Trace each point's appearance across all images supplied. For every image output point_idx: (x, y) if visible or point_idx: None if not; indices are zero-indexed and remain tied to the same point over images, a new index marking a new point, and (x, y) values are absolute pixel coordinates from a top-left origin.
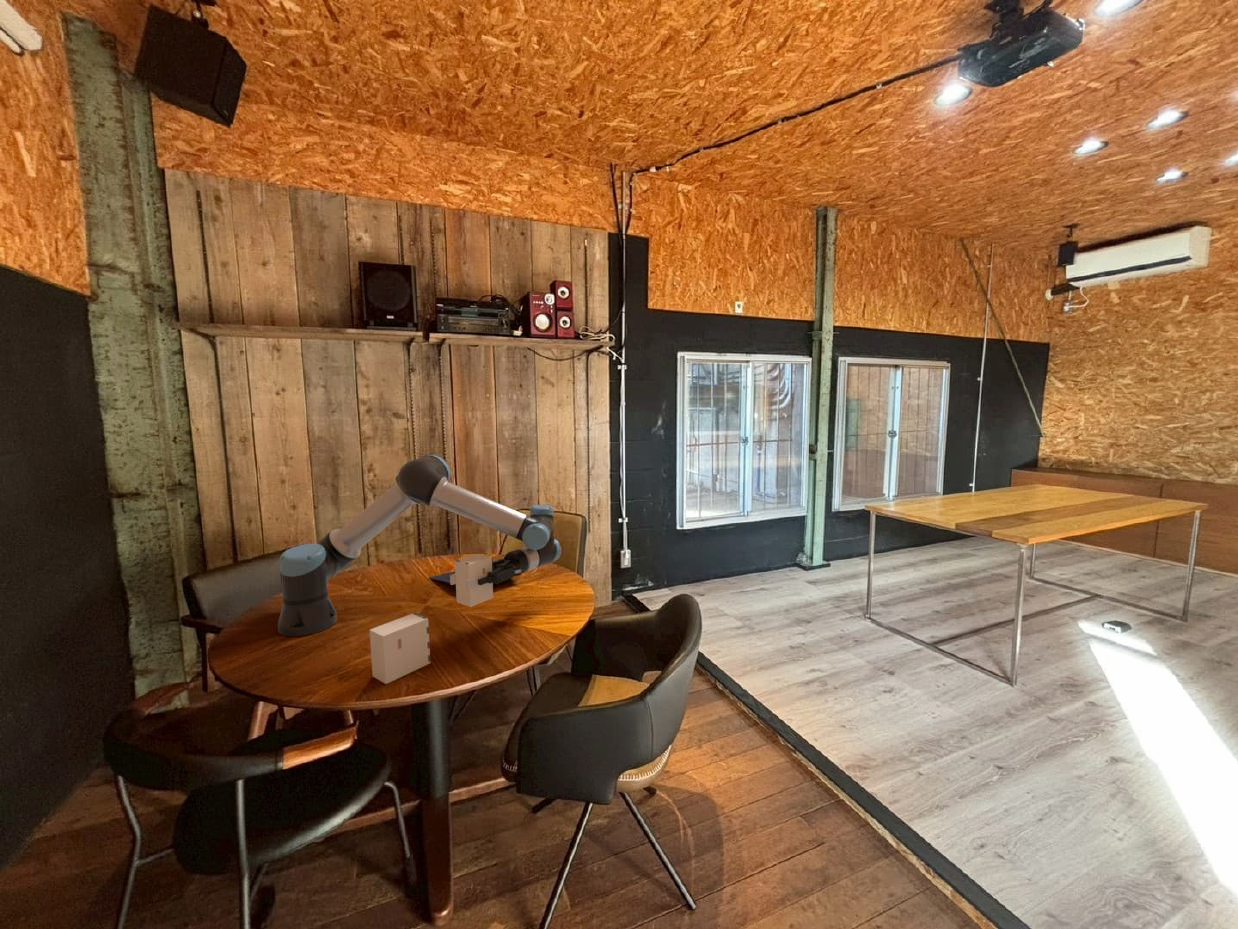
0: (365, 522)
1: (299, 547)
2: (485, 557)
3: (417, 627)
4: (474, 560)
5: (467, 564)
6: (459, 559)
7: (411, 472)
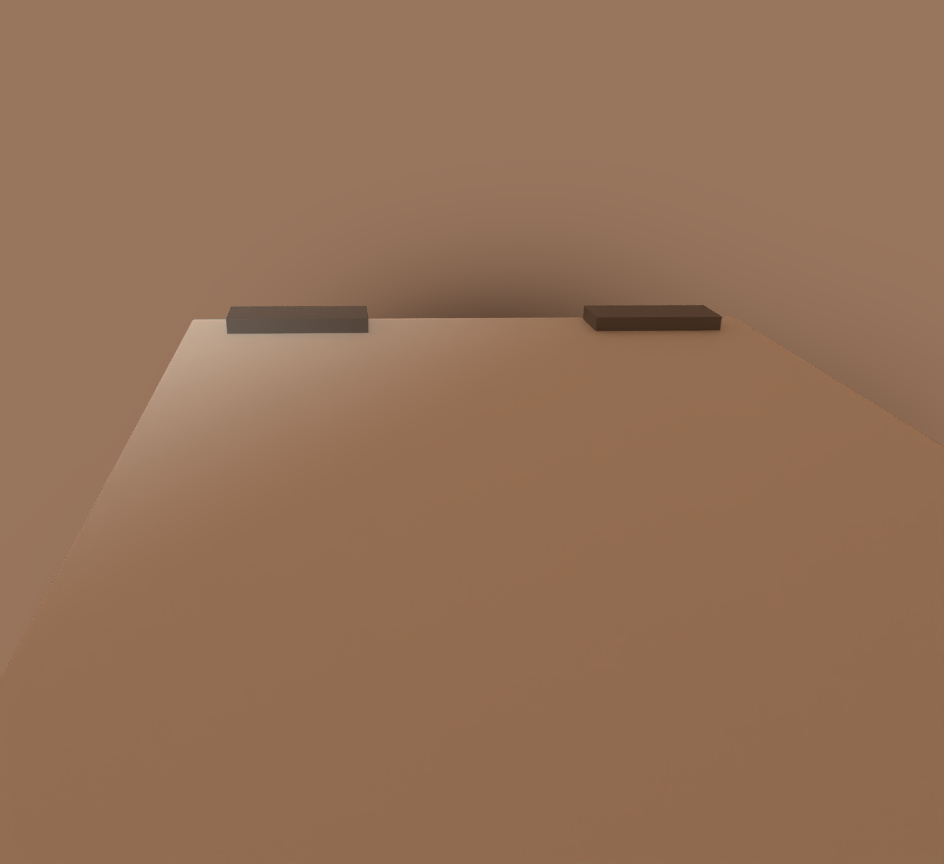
0: None
1: None
2: (308, 836)
3: None
4: (366, 434)
5: (245, 321)
6: (789, 356)
7: None
